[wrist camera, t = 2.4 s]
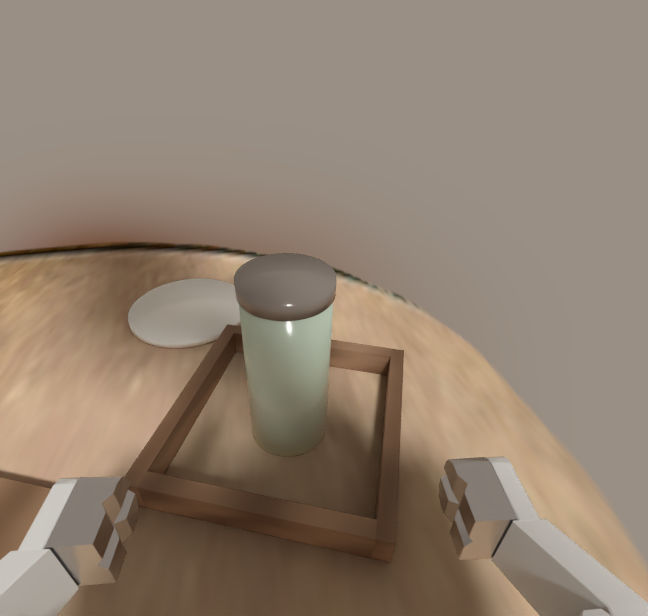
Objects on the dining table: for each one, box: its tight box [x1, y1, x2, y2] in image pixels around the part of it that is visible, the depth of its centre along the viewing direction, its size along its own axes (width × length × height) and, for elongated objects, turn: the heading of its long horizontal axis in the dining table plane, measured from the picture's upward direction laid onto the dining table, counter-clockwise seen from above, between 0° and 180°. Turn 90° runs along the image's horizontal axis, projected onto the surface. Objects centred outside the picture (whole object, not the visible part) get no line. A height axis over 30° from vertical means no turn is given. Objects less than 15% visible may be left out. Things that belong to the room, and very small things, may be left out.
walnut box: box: [126, 324, 404, 562], centre depth 27 cm, size 15×15×2 cm
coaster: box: [128, 278, 241, 348], centre depth 38 cm, size 11×11×1 cm
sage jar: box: [234, 253, 336, 456], centre depth 24 cm, size 5×5×12 cm
